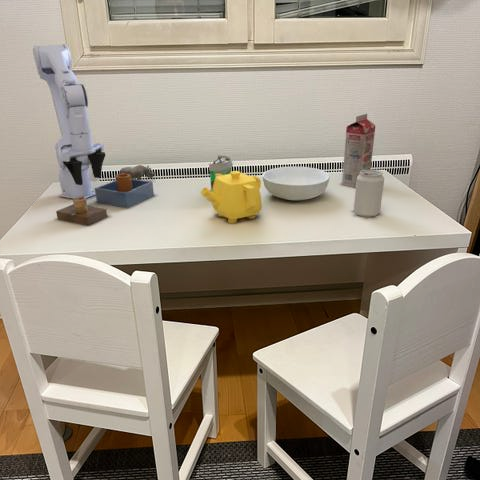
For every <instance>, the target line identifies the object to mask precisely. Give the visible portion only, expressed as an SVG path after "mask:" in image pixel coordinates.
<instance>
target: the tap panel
mask: <svg viewBox="0 0 480 480" xmlns="http://www.w3.org/2000/svg"><path fill="white" fill-rule="evenodd" d="M87 207H88V211H87V212H84V213H76V212H75V208H74V203H73V204H71V205H68V206H65V207H63V208H61V209H58V210H56V211H55V213H56V217H57V220H60V221H65V222H69V223H74V224H78V225H83V226H91V225H93V224H95V223H97V222H99V221H102V220H104V219H106V218H108V211H107V208H105V207H99V206H92V205H89V204H87Z"/></svg>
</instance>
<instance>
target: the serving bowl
mask: <svg viewBox="0 0 480 480" xmlns="http://www.w3.org/2000/svg"><path fill="white" fill-rule="evenodd" d="M330 180H331V177H330V174H329V173H328V172H327V171H325V170H323V169H318V168H315V167H309V166H295V165H294V166H279V167H275V168H271V169H268V170H266V171H264V172H263V173H262V182H263V185H264V188H265V189H266V190H267V192H268V193H270V194H271V195H273V196H274V197H276V198H280V199H282V200H287V201H297V202H298V201H305V200H309V199H313V198H316V197H318V196H320V195H321V194H322V193H324V192H325V191H326V189H327V187H328V185H329V182H330Z"/></svg>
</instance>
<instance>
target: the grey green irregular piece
mask: <svg viewBox="0 0 480 480" xmlns="http://www.w3.org/2000/svg"><path fill="white" fill-rule="evenodd" d="M232 167H234V164H233V160H232V157H230V156H226V155H219V154H218V155H217V159H215V160H213V162H212V163H208V171H209V177H210V191H211V192H212V189H213V185H214V181H215V178H216V175H215V174H222V175H227V174H230V172H232Z"/></svg>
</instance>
